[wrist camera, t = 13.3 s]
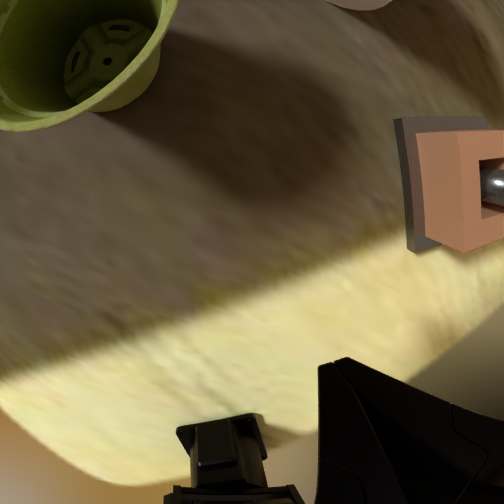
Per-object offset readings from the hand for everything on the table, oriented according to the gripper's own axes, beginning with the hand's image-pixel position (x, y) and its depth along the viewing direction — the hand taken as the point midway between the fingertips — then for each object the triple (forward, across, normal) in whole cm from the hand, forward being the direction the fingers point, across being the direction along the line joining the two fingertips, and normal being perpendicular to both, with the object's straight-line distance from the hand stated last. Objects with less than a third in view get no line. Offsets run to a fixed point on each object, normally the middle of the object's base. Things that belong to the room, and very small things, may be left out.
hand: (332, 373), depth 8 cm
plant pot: (+12, +6, -13) cm, 19 cm away
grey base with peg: (+12, -15, -2) cm, 19 cm away
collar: (+11, -15, -2) cm, 19 cm away
